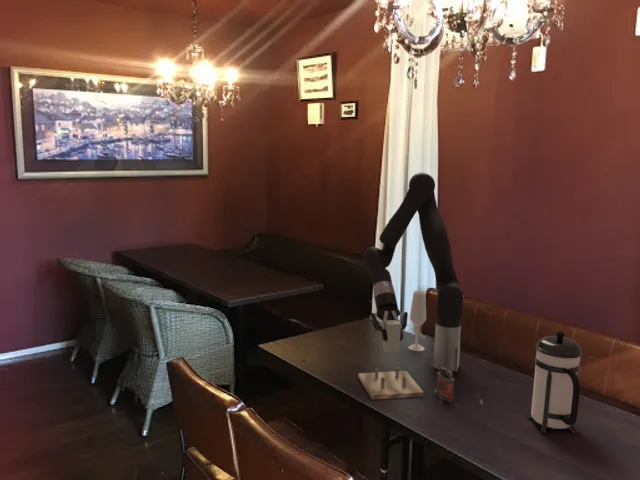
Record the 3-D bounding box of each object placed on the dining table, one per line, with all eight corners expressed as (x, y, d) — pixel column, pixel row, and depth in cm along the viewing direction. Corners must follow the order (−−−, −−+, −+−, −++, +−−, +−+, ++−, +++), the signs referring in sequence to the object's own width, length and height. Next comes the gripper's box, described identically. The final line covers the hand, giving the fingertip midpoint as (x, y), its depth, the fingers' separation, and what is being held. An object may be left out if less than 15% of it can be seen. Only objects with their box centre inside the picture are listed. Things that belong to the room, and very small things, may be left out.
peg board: (405, 374, 207) (406, 361, 206) (423, 396, 190) (424, 382, 189) (358, 377, 204) (358, 364, 203) (371, 399, 187) (372, 385, 186)
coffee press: (515, 425, 172) (523, 331, 166) (538, 408, 183) (546, 320, 177) (572, 447, 159) (583, 347, 154) (593, 428, 171) (604, 334, 165)
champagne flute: (407, 350, 232) (410, 293, 228) (408, 344, 238) (411, 289, 234) (424, 351, 230) (427, 295, 226) (425, 346, 237) (428, 290, 233)
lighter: (433, 392, 193) (435, 365, 191) (442, 391, 194) (443, 363, 192) (446, 403, 185) (448, 374, 184) (455, 401, 187) (457, 373, 185)
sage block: (383, 347, 196) (384, 320, 195) (395, 347, 197) (396, 319, 195) (386, 352, 192) (388, 324, 190) (399, 352, 193) (400, 324, 191)
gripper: (367, 291, 197) (375, 336, 188) (406, 291, 200) (416, 335, 190) (363, 302, 203) (370, 346, 194) (401, 301, 206) (410, 344, 196)
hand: (393, 340), depth 192 cm, fingers closed on sage block, 4 cm apart
